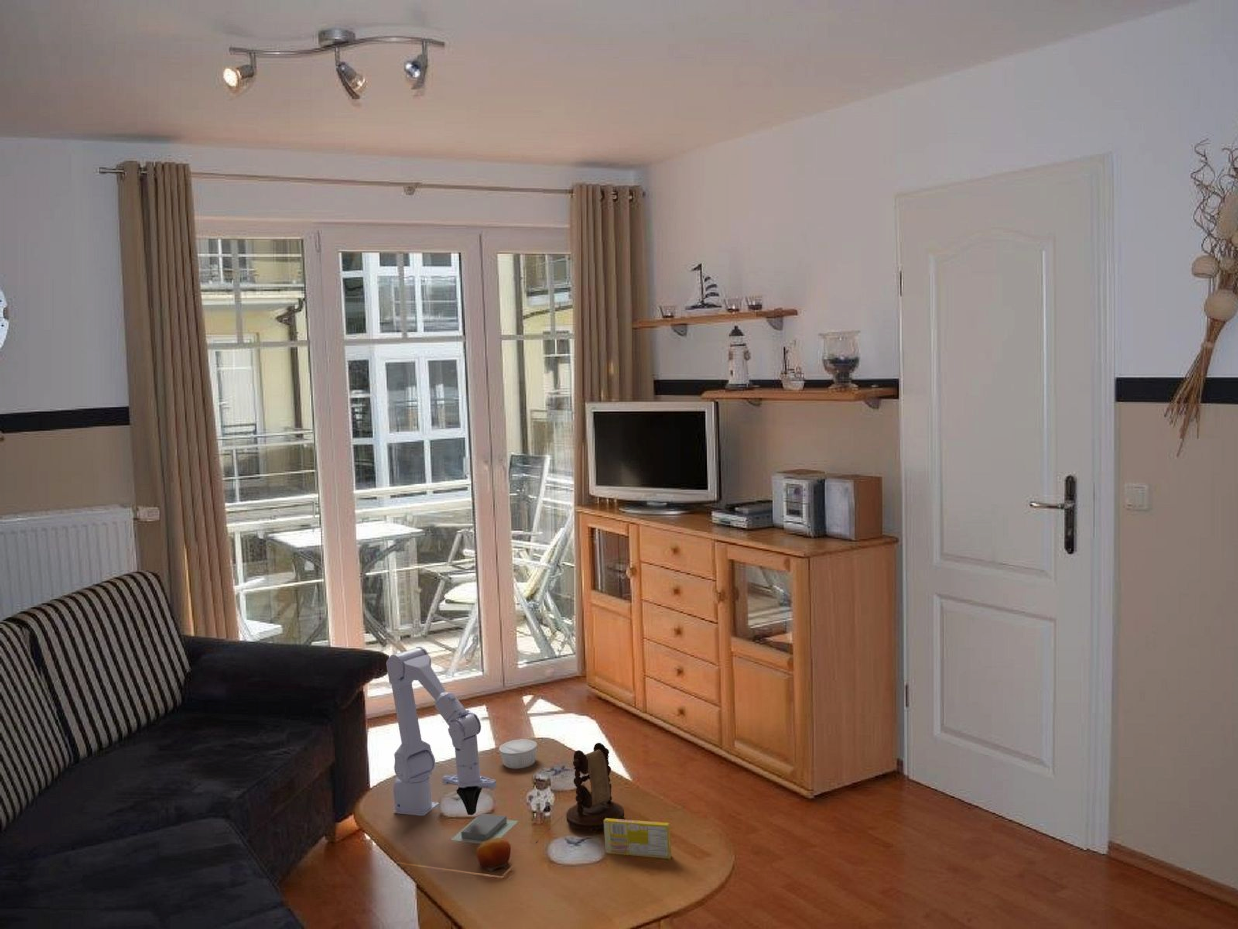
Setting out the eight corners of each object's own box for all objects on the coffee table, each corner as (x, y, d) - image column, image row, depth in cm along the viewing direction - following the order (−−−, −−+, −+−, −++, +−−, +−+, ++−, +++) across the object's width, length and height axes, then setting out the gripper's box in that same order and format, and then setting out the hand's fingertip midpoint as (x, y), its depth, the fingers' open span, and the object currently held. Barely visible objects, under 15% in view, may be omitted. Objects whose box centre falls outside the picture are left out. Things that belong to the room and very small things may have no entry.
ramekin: (495, 770, 329) (494, 753, 328) (505, 756, 340) (504, 739, 339) (533, 770, 327) (532, 753, 326) (542, 756, 338) (541, 739, 337)
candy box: (672, 855, 269) (670, 822, 268) (669, 860, 267) (667, 826, 266) (608, 849, 274) (605, 817, 273) (605, 853, 272) (602, 820, 271)
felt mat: (450, 841, 284) (450, 840, 284) (477, 818, 297) (477, 816, 297) (492, 846, 280) (492, 845, 279) (518, 822, 292) (518, 821, 292)
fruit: (488, 875, 262) (479, 840, 265) (479, 880, 268) (470, 846, 271) (520, 865, 266) (511, 831, 268) (510, 870, 272) (502, 837, 275)
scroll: (592, 840, 279) (586, 762, 277) (555, 823, 290) (549, 748, 288) (636, 820, 289) (631, 745, 287) (599, 805, 300) (593, 732, 298)
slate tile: (461, 831, 284) (485, 834, 282) (482, 813, 294) (506, 816, 292) (461, 838, 284) (486, 841, 282) (482, 819, 295) (506, 822, 292)
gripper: (434, 765, 286) (438, 817, 288) (485, 770, 281) (489, 823, 283) (448, 755, 293) (452, 805, 294) (498, 760, 287) (502, 811, 289)
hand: (471, 813), depth 289 cm, fingers closed
